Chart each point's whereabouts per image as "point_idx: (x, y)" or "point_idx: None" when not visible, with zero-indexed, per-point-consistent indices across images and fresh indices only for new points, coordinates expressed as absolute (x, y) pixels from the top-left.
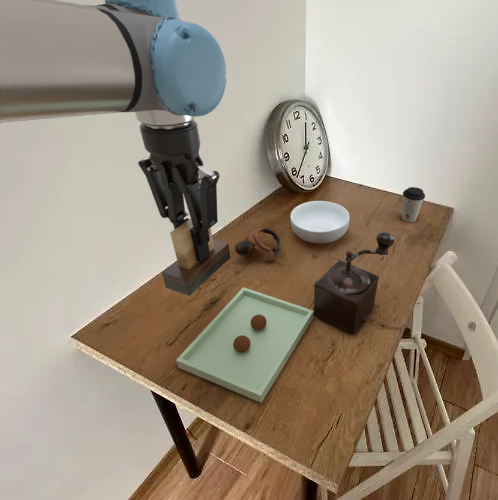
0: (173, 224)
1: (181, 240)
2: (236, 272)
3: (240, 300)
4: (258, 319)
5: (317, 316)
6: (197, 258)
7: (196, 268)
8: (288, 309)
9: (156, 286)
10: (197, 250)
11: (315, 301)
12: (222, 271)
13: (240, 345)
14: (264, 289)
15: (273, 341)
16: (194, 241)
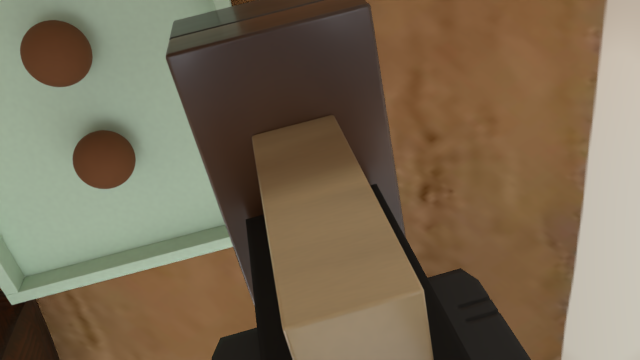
0: (524, 356)
1: (284, 286)
2: None
3: None
4: (89, 166)
5: None
6: (265, 227)
7: (225, 170)
8: (101, 258)
9: (570, 51)
10: (256, 275)
11: (2, 339)
12: (429, 232)
13: (31, 41)
14: None
15: (16, 136)
16: (274, 328)
